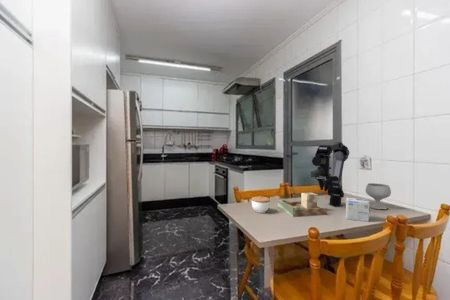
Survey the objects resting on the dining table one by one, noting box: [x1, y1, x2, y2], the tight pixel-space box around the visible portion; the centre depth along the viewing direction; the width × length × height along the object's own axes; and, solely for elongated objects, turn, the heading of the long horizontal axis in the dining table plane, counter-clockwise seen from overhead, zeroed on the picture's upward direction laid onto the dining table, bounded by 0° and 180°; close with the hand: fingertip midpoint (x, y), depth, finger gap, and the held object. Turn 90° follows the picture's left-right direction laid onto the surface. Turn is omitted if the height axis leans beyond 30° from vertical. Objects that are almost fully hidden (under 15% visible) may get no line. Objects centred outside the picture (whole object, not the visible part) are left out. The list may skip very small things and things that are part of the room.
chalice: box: [365, 182, 392, 210], centre depth 155 cm, size 14×14×15 cm
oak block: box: [300, 192, 318, 208], centre depth 144 cm, size 7×6×8 cm
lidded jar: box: [251, 195, 271, 214], centre depth 140 cm, size 11×11×9 cm
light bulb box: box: [345, 197, 370, 223], centre depth 130 cm, size 11×7×11 cm, turn 71°
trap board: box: [277, 199, 328, 217], centre depth 142 cm, size 22×17×5 cm
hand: (323, 190), depth 146 cm, fingers open, 3 cm apart
